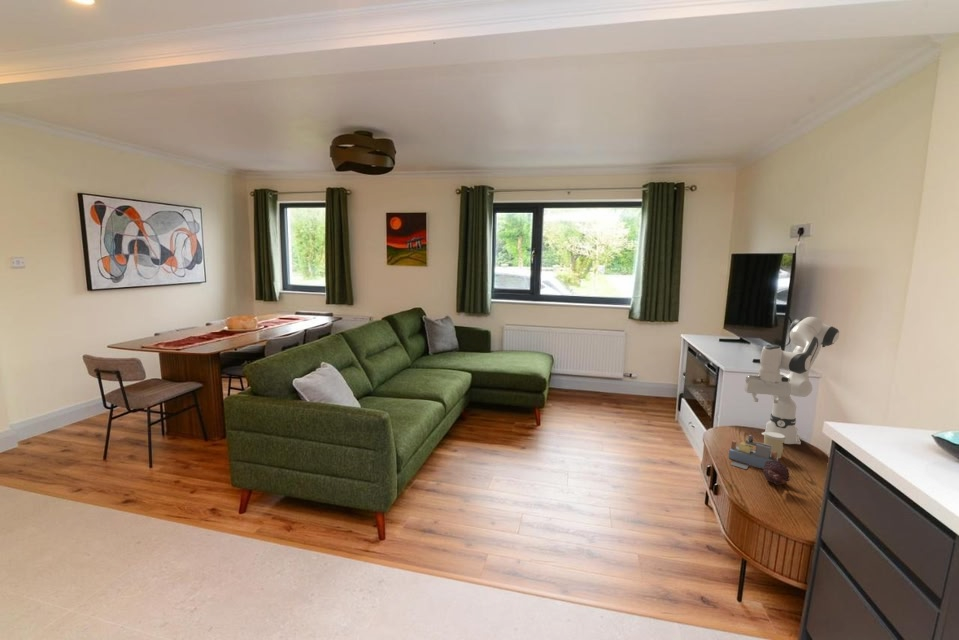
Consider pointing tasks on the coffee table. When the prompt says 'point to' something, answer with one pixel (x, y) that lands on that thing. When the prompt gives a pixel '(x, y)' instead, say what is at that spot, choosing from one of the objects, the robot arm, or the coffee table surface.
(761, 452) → the plane body
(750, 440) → the ball-knob lever
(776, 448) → the coffee cup
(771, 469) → the pine cone
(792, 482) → the coffee table surface
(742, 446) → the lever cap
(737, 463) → the mat
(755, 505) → the coffee table surface
